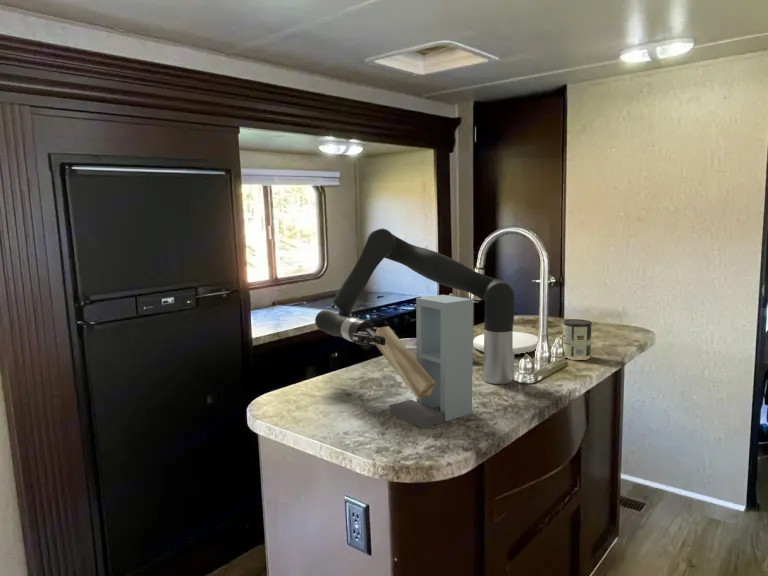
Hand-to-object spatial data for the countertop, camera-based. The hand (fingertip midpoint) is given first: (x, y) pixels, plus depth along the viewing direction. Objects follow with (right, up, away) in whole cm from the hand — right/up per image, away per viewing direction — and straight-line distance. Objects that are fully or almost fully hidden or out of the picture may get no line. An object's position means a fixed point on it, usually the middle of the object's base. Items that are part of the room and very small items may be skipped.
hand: (390, 340), depth 160 cm
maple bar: (+2, -7, -2) cm, 8 cm away
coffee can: (+72, -12, +55) cm, 91 cm away
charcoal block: (+7, -20, -7) cm, 23 cm away
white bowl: (+8, -13, +51) cm, 53 cm away
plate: (+48, -11, +70) cm, 86 cm away
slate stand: (+15, -20, -2) cm, 25 cm away
